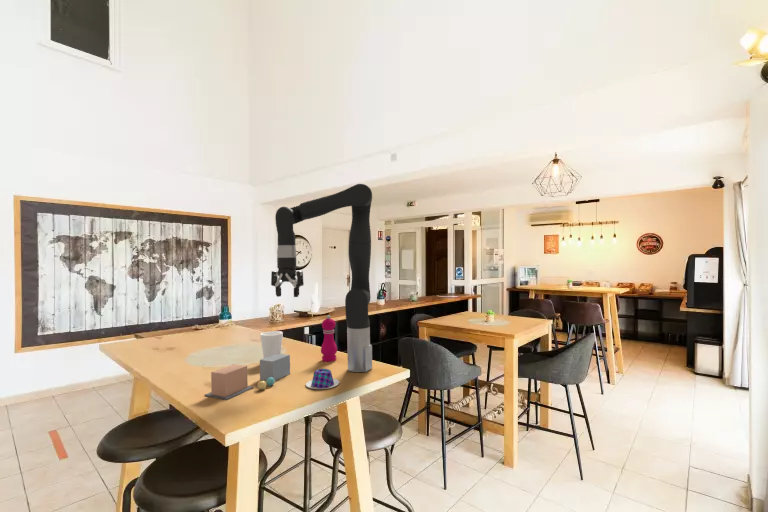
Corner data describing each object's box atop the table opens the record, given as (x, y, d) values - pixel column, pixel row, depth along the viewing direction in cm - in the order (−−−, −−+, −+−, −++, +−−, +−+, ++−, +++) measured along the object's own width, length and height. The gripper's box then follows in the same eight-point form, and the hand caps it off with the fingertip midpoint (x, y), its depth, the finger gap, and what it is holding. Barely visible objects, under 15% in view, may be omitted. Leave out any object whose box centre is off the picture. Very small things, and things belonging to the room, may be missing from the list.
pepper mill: (340, 359, 170) (340, 314, 170) (330, 363, 164) (329, 316, 164) (328, 357, 174) (327, 313, 174) (317, 360, 168) (317, 315, 168)
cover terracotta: (247, 387, 133) (247, 365, 133) (225, 396, 124) (225, 374, 124) (234, 385, 136) (233, 364, 136) (211, 394, 126) (211, 372, 127)
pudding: (346, 383, 138) (345, 368, 138) (325, 393, 128) (324, 377, 128) (320, 378, 144) (320, 364, 144) (298, 387, 134) (298, 372, 134)
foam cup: (276, 366, 160) (276, 335, 160) (256, 365, 161) (256, 335, 161) (286, 360, 169) (286, 331, 169) (267, 359, 171) (267, 330, 171)
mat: (253, 387, 133) (253, 386, 133) (227, 399, 122) (227, 398, 122) (231, 384, 137) (231, 383, 137) (204, 395, 126) (204, 394, 126)
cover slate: (290, 373, 149) (289, 354, 149) (273, 381, 140) (273, 361, 140) (277, 372, 152) (277, 353, 152) (260, 379, 142) (259, 359, 142)
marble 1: (268, 388, 132) (268, 380, 132) (262, 391, 130) (262, 382, 130) (261, 387, 134) (261, 379, 134) (255, 390, 131) (255, 381, 131)
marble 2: (276, 384, 137) (276, 376, 137) (271, 387, 134) (271, 378, 134) (270, 383, 138) (269, 375, 138) (264, 386, 135) (264, 378, 135)
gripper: (306, 256, 154) (307, 296, 154) (278, 256, 160) (279, 295, 159) (295, 256, 147) (296, 298, 147) (266, 257, 153) (267, 297, 153)
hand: (287, 296), depth 153 cm, fingers open, 8 cm apart
